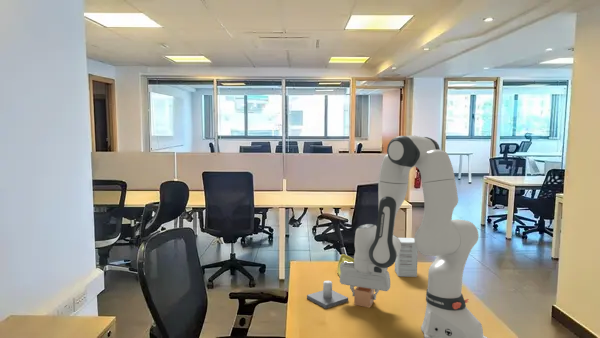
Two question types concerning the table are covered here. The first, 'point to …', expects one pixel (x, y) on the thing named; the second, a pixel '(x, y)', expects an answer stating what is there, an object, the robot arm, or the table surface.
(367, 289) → the sleeve
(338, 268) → the plastic component
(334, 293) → the base
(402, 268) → the supplement box
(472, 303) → the table surface
